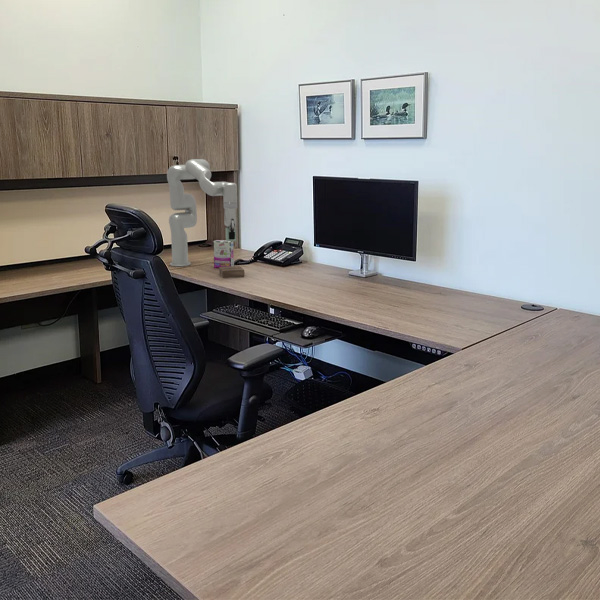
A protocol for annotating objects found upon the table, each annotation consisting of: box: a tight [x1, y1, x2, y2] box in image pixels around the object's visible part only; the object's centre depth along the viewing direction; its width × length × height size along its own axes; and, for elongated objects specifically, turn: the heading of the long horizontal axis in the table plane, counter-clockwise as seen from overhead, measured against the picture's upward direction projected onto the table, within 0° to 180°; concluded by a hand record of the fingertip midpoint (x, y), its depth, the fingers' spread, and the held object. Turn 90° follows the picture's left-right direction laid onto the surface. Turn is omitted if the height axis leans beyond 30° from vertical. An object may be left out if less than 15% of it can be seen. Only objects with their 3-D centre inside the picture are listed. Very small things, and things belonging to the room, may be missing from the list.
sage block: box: [225, 226, 237, 242], centre depth 346 cm, size 5×5×7 cm
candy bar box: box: [213, 239, 235, 269], centre depth 371 cm, size 11×5×16 cm, turn 73°
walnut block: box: [218, 265, 245, 279], centre depth 352 cm, size 12×12×4 cm
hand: (230, 238), depth 347 cm, fingers closed on sage block, 5 cm apart
